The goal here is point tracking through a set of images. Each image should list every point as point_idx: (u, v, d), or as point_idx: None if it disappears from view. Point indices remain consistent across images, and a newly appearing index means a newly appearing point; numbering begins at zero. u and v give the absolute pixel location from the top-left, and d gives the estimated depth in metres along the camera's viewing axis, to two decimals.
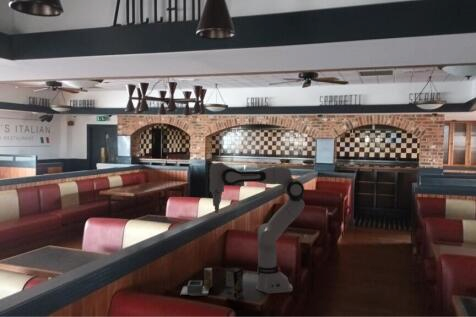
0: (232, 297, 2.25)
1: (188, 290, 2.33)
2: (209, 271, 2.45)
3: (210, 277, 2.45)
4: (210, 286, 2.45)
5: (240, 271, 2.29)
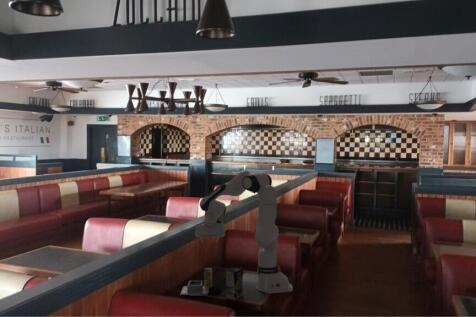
0: (232, 297, 2.25)
1: (188, 290, 2.33)
2: (209, 271, 2.45)
3: (210, 277, 2.45)
4: (210, 286, 2.45)
5: (240, 271, 2.29)
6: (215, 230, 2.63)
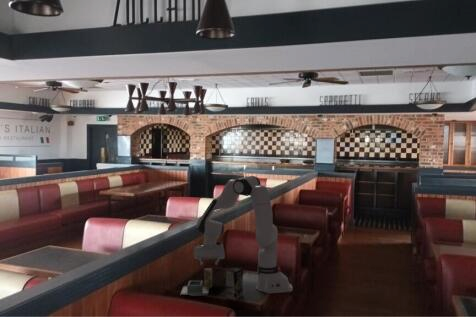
0: (232, 297, 2.25)
1: (188, 290, 2.33)
2: (209, 271, 2.45)
3: (210, 277, 2.45)
4: (210, 286, 2.45)
5: (240, 271, 2.29)
6: (214, 252, 2.57)
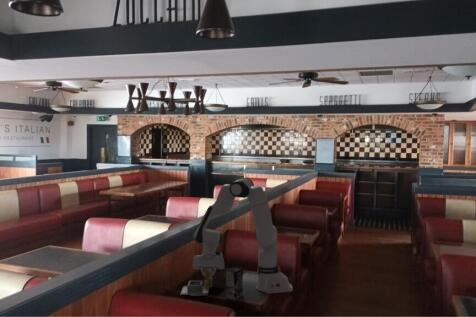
0: (232, 297, 2.25)
1: (188, 290, 2.33)
2: (209, 271, 2.45)
3: (210, 277, 2.45)
4: (210, 286, 2.45)
5: (240, 271, 2.29)
6: (214, 262, 2.51)
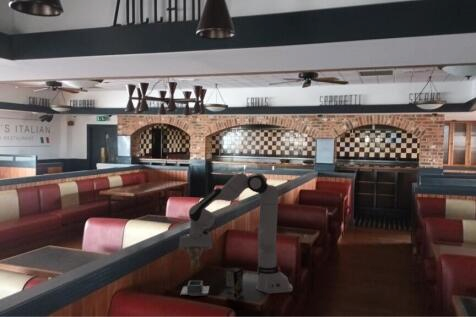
0: (232, 297, 2.25)
1: (188, 290, 2.33)
2: (196, 250, 2.35)
3: (197, 257, 2.35)
4: (197, 266, 2.35)
5: (240, 271, 2.29)
6: (201, 242, 2.41)
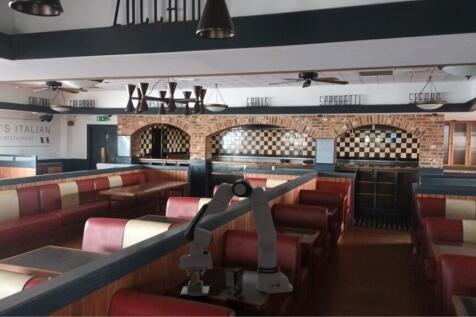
0: (232, 297, 2.25)
1: (188, 290, 2.33)
2: (196, 274, 2.35)
3: (197, 280, 2.35)
4: None
5: (240, 271, 2.29)
6: (201, 262, 2.41)
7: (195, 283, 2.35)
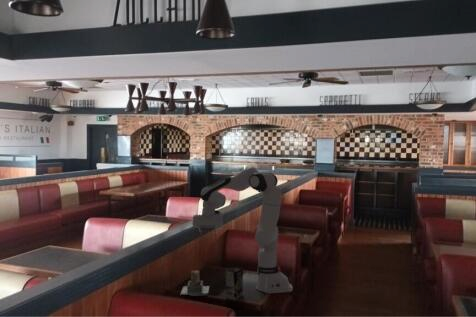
0: (232, 297, 2.25)
1: (188, 290, 2.33)
2: (196, 274, 2.35)
3: (197, 280, 2.35)
4: None
5: (240, 271, 2.29)
6: (213, 220, 2.60)
7: (195, 283, 2.35)
